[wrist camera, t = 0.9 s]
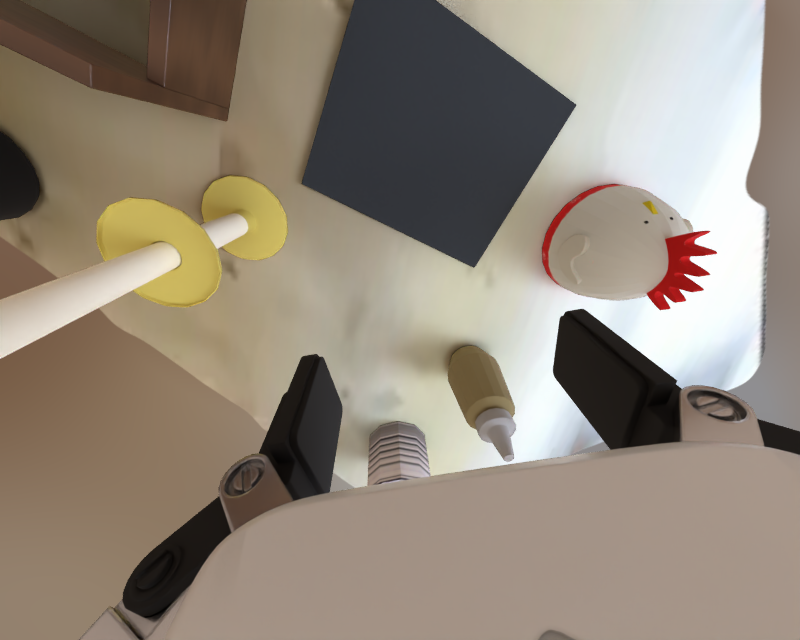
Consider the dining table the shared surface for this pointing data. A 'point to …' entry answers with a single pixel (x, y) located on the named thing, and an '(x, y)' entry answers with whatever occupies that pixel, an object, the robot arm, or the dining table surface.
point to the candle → (153, 257)
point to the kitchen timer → (623, 247)
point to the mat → (431, 126)
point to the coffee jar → (16, 181)
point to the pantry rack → (167, 53)
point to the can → (397, 454)
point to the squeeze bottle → (483, 397)
